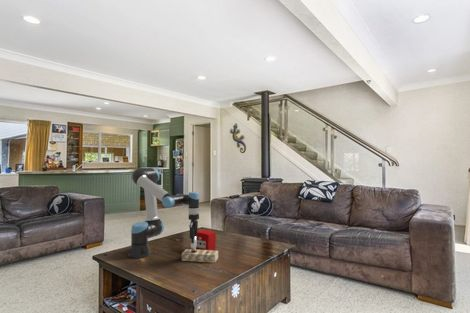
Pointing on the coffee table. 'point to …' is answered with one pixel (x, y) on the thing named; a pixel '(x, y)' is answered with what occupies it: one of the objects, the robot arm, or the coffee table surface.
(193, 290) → the coffee table surface
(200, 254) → the bore block
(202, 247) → the fire alarm
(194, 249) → the pin
